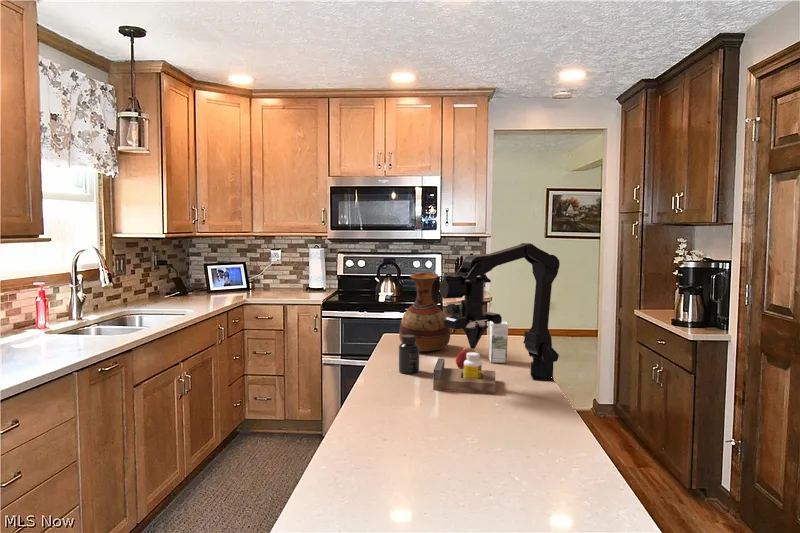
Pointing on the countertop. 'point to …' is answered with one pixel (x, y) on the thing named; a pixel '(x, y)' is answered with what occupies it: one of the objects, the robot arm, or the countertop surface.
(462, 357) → the onion
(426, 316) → the brown ceramic vase
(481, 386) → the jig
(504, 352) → the syrup box
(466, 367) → the supplement bottle
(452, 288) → the robot arm
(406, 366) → the supplement bottle
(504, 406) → the countertop surface
